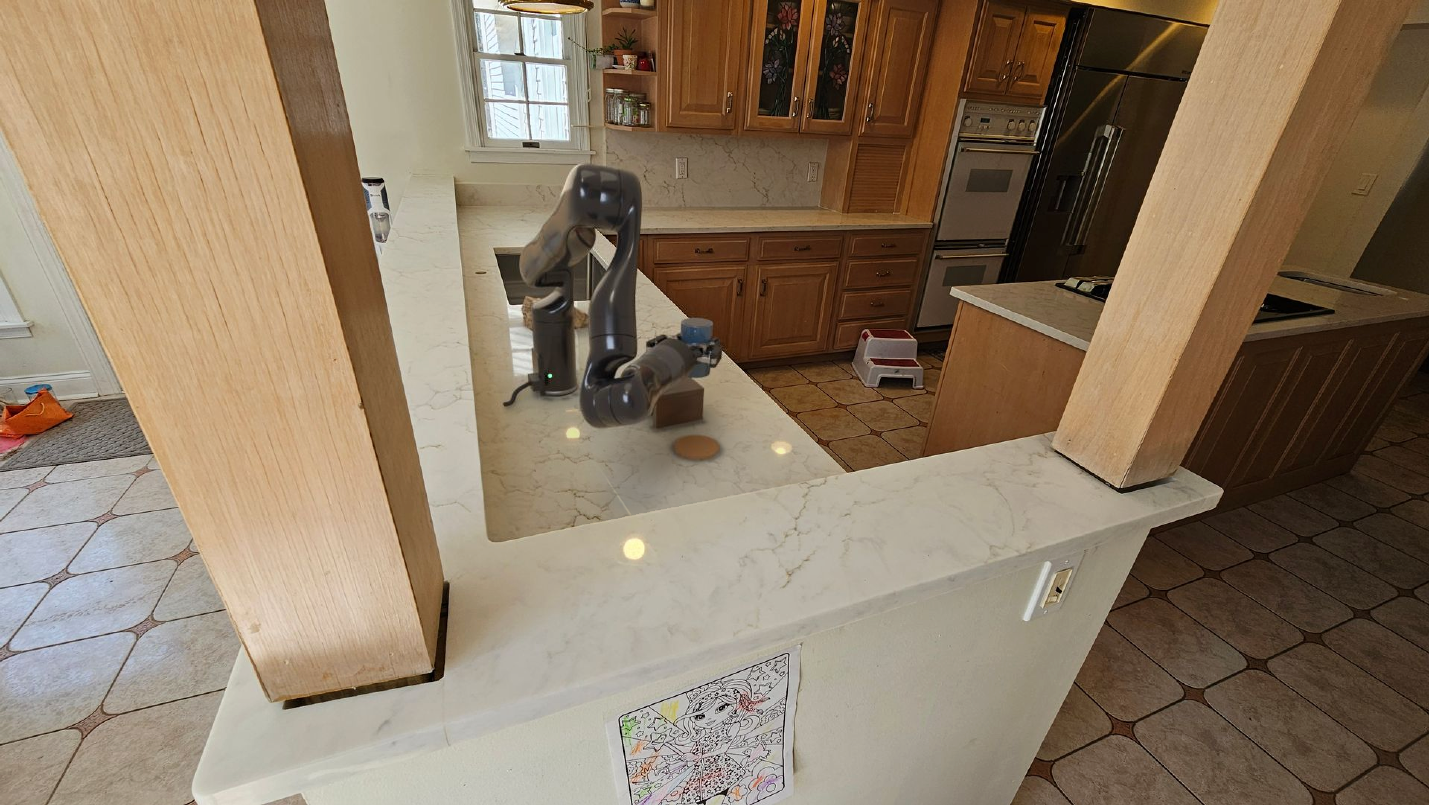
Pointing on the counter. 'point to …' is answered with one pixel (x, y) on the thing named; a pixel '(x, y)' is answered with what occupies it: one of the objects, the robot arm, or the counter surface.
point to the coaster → (696, 447)
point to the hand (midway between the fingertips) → (700, 339)
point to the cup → (697, 340)
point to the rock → (579, 315)
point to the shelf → (679, 404)
